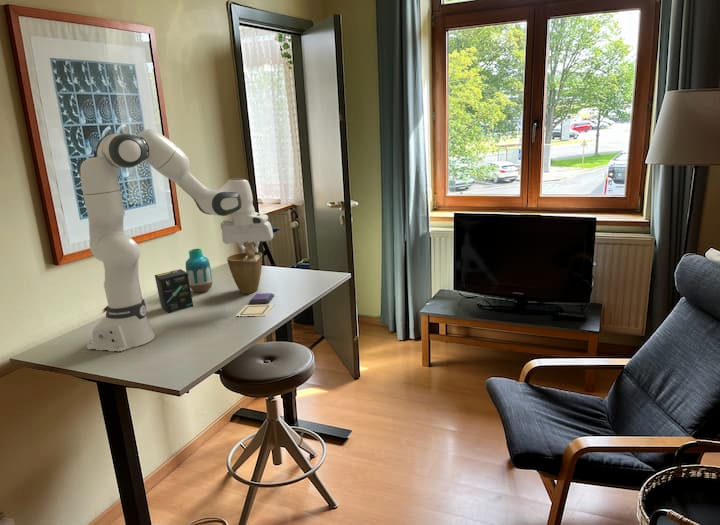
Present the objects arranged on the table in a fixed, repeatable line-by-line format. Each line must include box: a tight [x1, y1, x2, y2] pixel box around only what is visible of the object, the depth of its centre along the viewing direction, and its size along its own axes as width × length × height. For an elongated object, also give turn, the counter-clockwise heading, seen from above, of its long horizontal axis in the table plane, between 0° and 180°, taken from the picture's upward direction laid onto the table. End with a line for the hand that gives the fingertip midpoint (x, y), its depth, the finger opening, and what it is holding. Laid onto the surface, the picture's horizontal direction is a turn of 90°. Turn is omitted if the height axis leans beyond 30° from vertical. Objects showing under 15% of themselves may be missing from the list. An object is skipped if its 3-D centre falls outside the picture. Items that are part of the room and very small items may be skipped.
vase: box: [185, 248, 213, 293], centre depth 233 cm, size 11×11×19 cm
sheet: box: [235, 303, 275, 318], centre depth 205 cm, size 12×12×1 cm
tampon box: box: [154, 268, 194, 314], centre depth 215 cm, size 11×9×15 cm
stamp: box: [243, 241, 260, 263], centre depth 210 cm, size 5×5×9 cm
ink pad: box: [249, 292, 275, 305], centre depth 216 cm, size 8×8×2 cm
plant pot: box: [226, 251, 263, 294], centre depth 228 cm, size 15×15×16 cm
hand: (250, 252), depth 210 cm, fingers closed on stamp, 3 cm apart
